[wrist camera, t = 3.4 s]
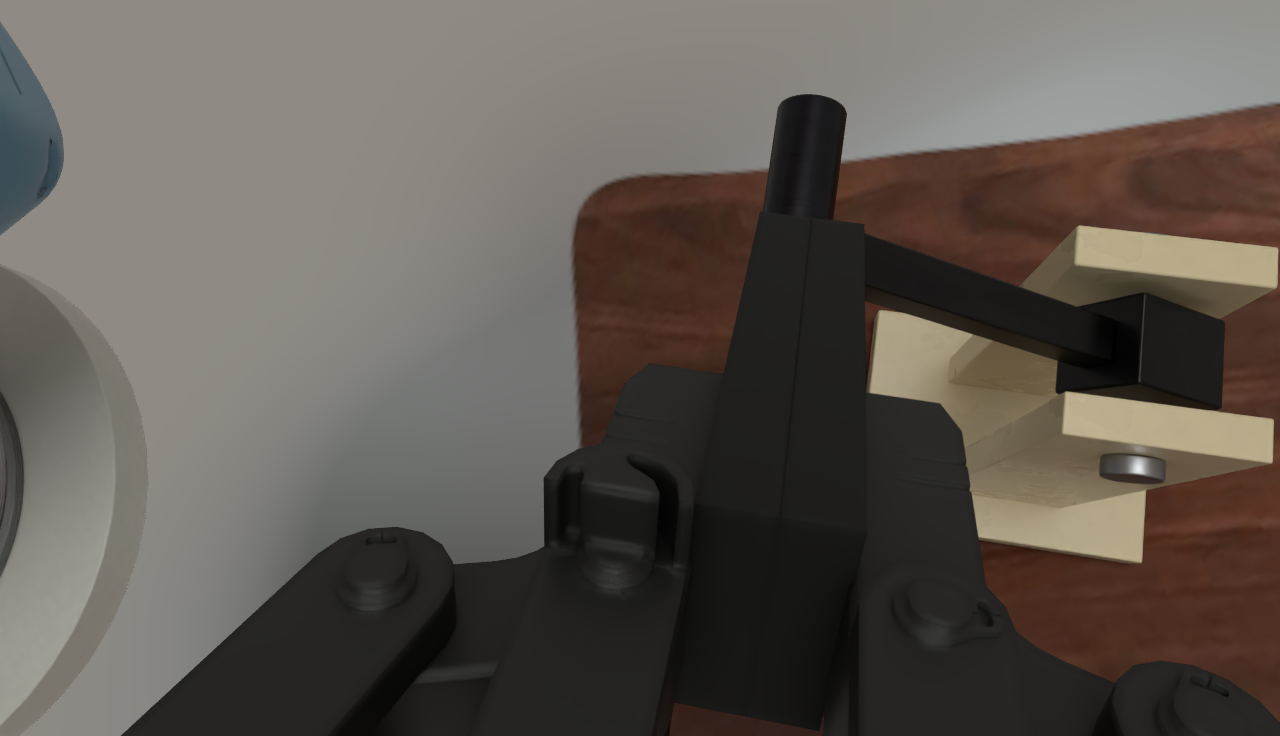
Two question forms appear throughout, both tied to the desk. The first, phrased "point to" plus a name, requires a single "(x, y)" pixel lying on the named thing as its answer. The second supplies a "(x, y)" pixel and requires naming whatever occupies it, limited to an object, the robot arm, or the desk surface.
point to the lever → (1005, 290)
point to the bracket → (1080, 398)
